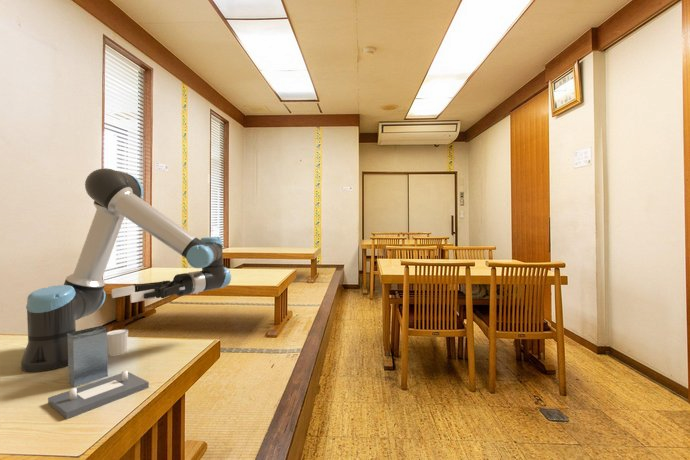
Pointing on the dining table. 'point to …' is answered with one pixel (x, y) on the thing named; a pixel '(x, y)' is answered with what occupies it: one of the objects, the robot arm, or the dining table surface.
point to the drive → (87, 355)
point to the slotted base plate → (96, 394)
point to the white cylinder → (117, 342)
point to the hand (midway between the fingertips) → (120, 295)
